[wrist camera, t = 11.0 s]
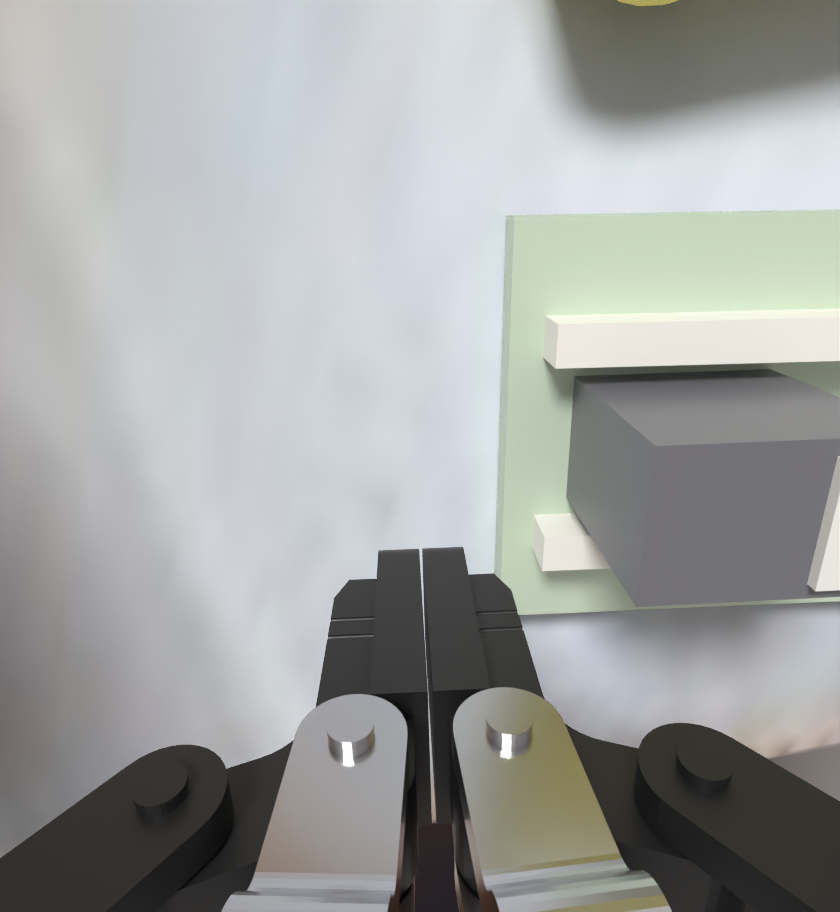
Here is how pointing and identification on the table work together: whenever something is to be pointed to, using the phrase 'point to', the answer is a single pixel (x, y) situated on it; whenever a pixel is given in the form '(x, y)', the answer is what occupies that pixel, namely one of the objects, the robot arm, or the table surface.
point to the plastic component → (647, 2)
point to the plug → (709, 484)
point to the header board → (640, 354)
